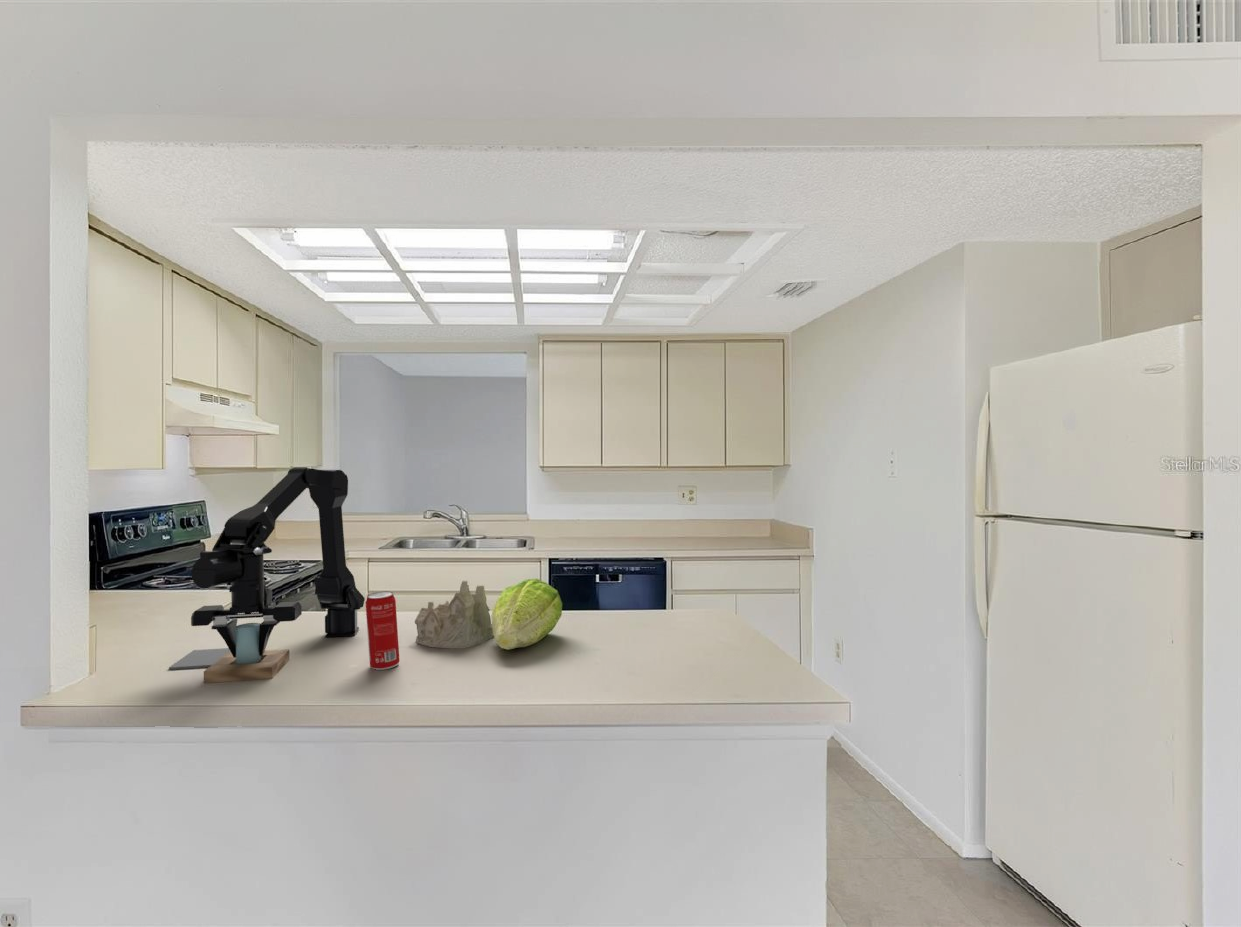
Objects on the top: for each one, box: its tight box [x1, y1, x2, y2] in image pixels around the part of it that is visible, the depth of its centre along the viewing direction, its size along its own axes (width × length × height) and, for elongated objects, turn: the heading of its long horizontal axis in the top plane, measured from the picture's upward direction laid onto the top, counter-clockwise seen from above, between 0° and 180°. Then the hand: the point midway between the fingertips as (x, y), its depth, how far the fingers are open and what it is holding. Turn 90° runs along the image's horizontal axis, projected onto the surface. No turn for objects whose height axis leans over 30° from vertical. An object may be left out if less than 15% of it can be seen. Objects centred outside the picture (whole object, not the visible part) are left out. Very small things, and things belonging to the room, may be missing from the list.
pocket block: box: [203, 648, 290, 684], centre depth 134 cm, size 12×12×2 cm
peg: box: [236, 622, 261, 664], centre depth 134 cm, size 4×4×9 cm
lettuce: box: [490, 578, 563, 651], centre depth 152 cm, size 14×24×15 cm
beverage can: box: [365, 590, 400, 671], centre depth 137 cm, size 6×6×15 cm
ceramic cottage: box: [414, 580, 495, 649], centre depth 157 cm, size 16×16×15 cm
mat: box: [168, 647, 231, 671], centre depth 142 cm, size 12×12×1 cm
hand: (248, 656), depth 134 cm, fingers closed on peg, 4 cm apart
